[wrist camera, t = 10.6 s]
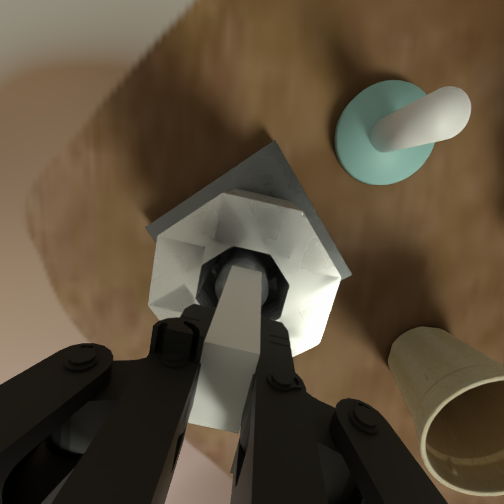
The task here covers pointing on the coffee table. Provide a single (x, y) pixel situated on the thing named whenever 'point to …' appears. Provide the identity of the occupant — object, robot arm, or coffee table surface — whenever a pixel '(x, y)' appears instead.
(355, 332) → the coffee table surface
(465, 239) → the coffee table surface
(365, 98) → the stand
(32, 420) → the robot arm
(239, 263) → the hub
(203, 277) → the collar
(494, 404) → the flower pot
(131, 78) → the coffee table surface
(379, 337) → the coffee table surface
